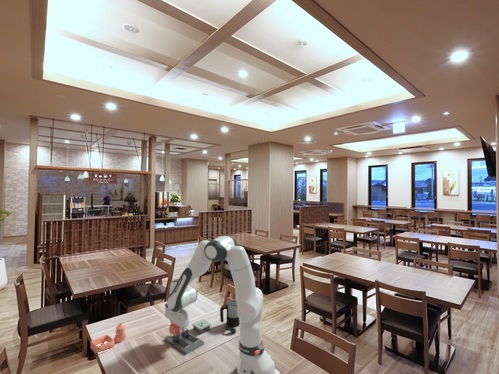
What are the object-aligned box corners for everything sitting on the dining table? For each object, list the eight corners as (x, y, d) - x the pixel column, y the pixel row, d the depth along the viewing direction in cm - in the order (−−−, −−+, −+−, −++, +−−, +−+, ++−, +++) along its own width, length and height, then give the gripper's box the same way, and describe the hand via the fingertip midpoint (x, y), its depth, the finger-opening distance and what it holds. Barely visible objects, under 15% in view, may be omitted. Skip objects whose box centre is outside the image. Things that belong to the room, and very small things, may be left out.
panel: (204, 344, 152) (204, 340, 153) (185, 354, 143) (185, 350, 143) (182, 331, 167) (182, 327, 167) (164, 339, 157) (164, 336, 157)
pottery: (97, 355, 142) (97, 337, 142) (90, 348, 148) (90, 331, 148) (129, 340, 156) (129, 324, 156) (122, 335, 162) (122, 319, 162)
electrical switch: (200, 329, 162) (192, 321, 168) (199, 336, 162) (191, 328, 169) (212, 323, 169) (203, 316, 175) (210, 331, 169) (202, 323, 176)
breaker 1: (179, 338, 155) (179, 333, 155) (175, 341, 153) (175, 335, 153) (176, 337, 157) (177, 331, 157) (172, 339, 155) (172, 333, 155)
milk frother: (236, 319, 182) (236, 298, 183) (247, 329, 169) (247, 307, 169) (217, 324, 175) (218, 303, 175) (228, 336, 162) (228, 312, 162)
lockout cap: (183, 332, 155) (183, 324, 155) (175, 336, 150) (175, 328, 150) (177, 328, 159) (178, 321, 159) (169, 332, 154) (169, 324, 154)
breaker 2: (188, 334, 160) (188, 329, 160) (184, 336, 158) (184, 331, 158) (185, 332, 162) (185, 327, 162) (181, 334, 160) (181, 329, 160)
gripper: (191, 309, 150) (191, 333, 150) (172, 300, 164) (171, 321, 163) (182, 313, 146) (182, 338, 145) (163, 303, 159) (162, 325, 159)
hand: (176, 329), depth 154 cm, fingers closed on lockout cap, 6 cm apart
